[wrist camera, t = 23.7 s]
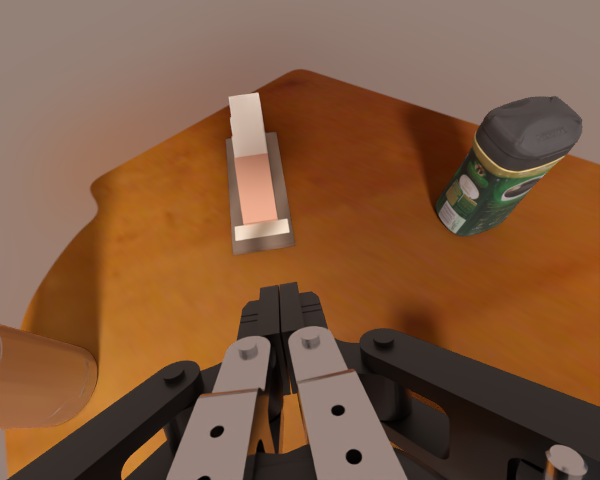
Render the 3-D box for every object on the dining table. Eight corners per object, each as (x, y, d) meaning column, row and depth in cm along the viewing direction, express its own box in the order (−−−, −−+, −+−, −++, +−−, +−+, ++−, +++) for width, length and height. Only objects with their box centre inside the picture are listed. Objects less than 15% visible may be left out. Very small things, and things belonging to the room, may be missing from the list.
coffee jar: (478, 183, 52) (553, 78, 35) (510, 223, 48) (610, 126, 32) (424, 202, 51) (476, 102, 34) (453, 244, 47) (526, 155, 31)
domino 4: (277, 218, 47) (267, 153, 48) (243, 223, 47) (233, 158, 48) (277, 220, 49) (268, 157, 50) (244, 225, 49) (235, 161, 50)
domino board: (234, 255, 48) (232, 252, 47) (227, 143, 58) (225, 138, 57) (295, 245, 48) (294, 242, 47) (276, 135, 59) (276, 131, 58)
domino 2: (270, 173, 51) (260, 113, 52) (238, 178, 51) (229, 117, 52) (271, 176, 53) (261, 117, 54) (240, 180, 53) (231, 122, 54)
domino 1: (267, 150, 53) (258, 92, 54) (236, 154, 53) (228, 96, 54) (267, 153, 55) (259, 97, 56) (238, 157, 55) (230, 101, 56)
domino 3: (273, 194, 49) (263, 131, 50) (240, 199, 49) (231, 136, 50) (274, 196, 51) (264, 136, 52) (242, 201, 51) (233, 140, 52)
